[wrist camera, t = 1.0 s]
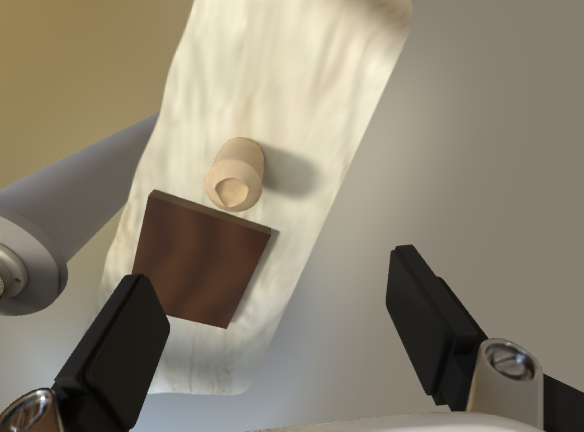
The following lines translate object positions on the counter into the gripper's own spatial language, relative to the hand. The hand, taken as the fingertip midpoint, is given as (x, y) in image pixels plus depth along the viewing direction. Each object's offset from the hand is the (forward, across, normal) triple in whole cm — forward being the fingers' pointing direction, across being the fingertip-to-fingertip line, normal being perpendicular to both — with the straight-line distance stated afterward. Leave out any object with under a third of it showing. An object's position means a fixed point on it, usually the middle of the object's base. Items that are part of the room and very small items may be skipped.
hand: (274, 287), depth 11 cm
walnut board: (+26, +14, +18) cm, 34 cm away
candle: (+26, +4, +3) cm, 26 cm away
